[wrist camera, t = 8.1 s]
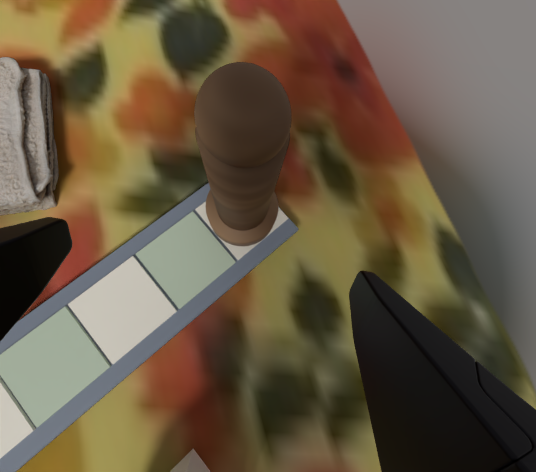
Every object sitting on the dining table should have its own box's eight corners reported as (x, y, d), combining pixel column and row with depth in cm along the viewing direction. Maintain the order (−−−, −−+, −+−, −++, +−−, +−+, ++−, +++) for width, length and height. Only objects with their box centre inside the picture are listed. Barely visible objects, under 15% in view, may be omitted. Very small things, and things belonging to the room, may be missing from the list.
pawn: (237, 260, 19) (231, 196, 7) (194, 209, 19) (117, 64, 7) (288, 218, 20) (362, 97, 8) (246, 171, 20) (254, -12, 8)
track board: (-24, 505, 15) (-42, 520, 14) (-88, 405, 16) (-110, 412, 15) (296, 231, 20) (299, 228, 20) (238, 166, 21) (238, 159, 20)
